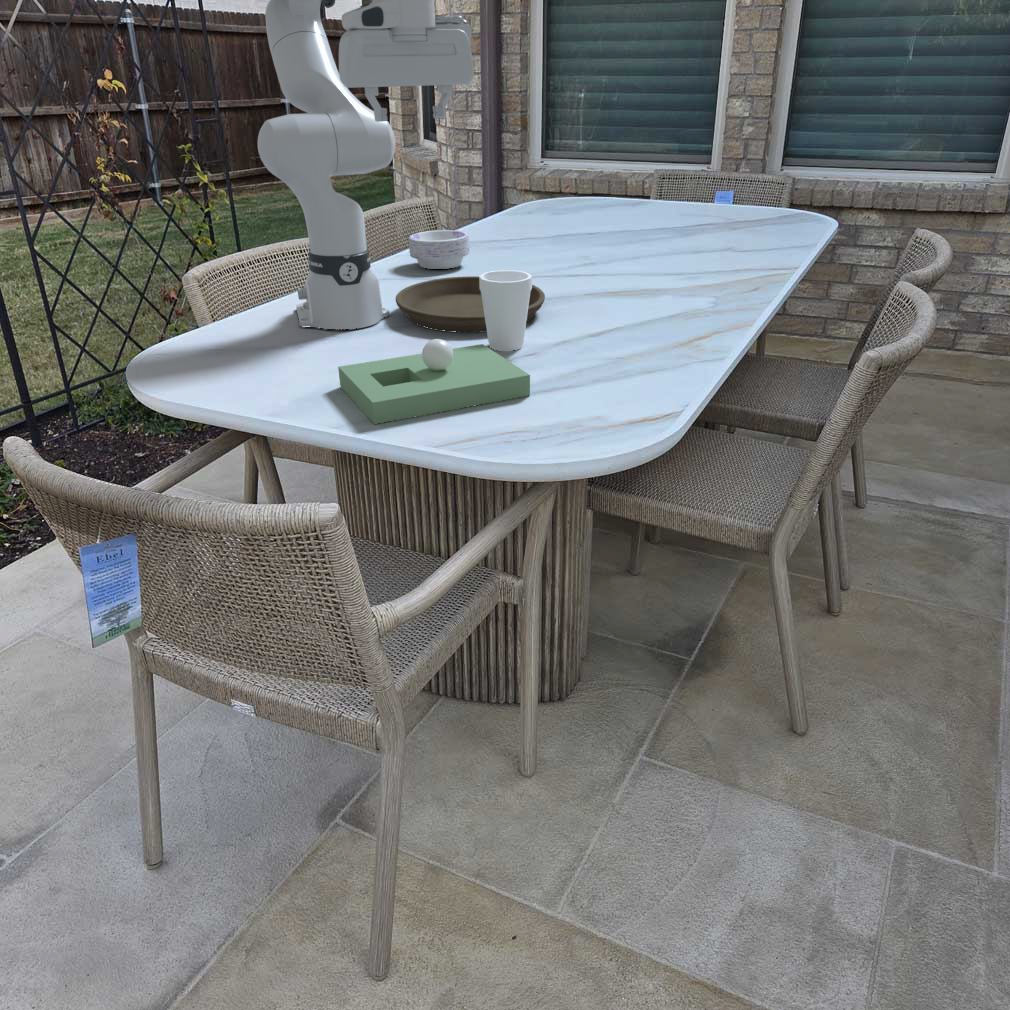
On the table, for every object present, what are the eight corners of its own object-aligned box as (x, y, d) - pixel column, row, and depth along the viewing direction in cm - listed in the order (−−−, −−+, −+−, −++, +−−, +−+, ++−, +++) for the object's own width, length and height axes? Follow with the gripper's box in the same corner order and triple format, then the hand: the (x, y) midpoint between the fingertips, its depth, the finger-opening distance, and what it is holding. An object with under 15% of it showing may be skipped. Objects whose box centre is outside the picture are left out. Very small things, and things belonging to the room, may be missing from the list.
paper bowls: (402, 263, 222) (400, 232, 218) (456, 257, 227) (455, 227, 224) (422, 276, 210) (420, 242, 206) (479, 269, 215) (478, 237, 211)
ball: (418, 367, 139) (416, 337, 137) (446, 363, 141) (445, 333, 138) (429, 376, 135) (427, 346, 133) (458, 372, 137) (457, 341, 135)
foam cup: (530, 338, 164) (530, 269, 158) (533, 353, 156) (533, 281, 150) (480, 339, 164) (479, 270, 158) (481, 354, 156) (479, 282, 150)
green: (340, 386, 141) (338, 366, 140) (482, 363, 151) (482, 344, 150) (374, 424, 127) (372, 402, 125) (529, 395, 137) (530, 374, 135)
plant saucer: (530, 341, 163) (530, 317, 161) (376, 333, 169) (374, 310, 167) (554, 299, 190) (555, 278, 188) (421, 293, 196) (419, 273, 194)
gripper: (461, 16, 130) (465, 116, 136) (330, 16, 122) (340, 121, 129) (478, 14, 125) (481, 118, 131) (342, 13, 117) (352, 123, 123)
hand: (410, 120), depth 130 cm, fingers open, 8 cm apart
